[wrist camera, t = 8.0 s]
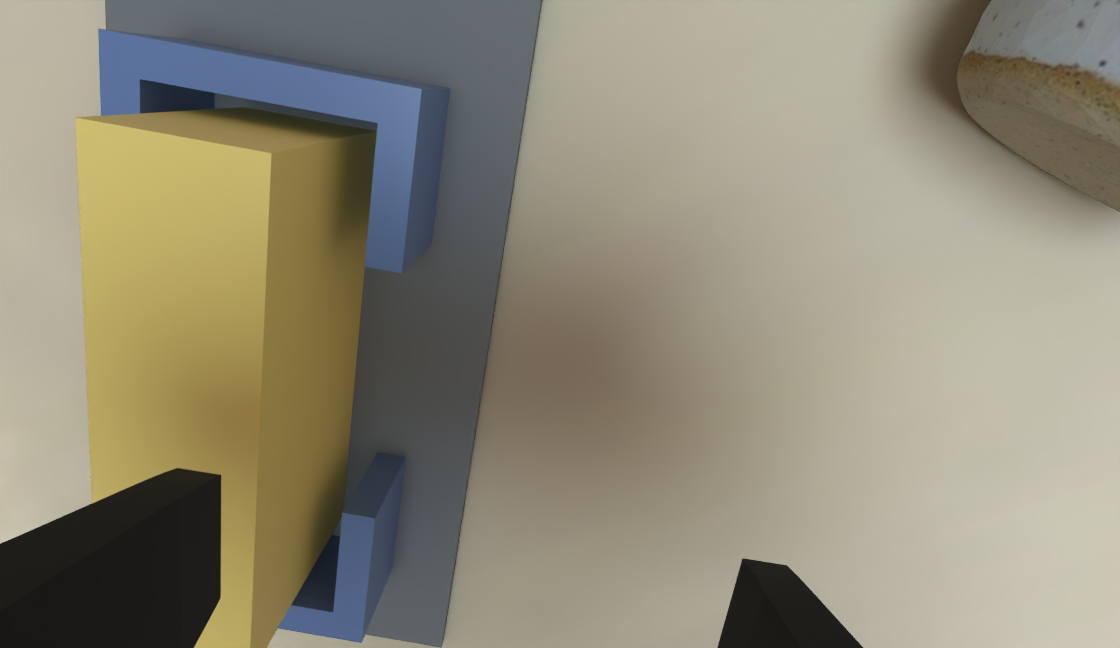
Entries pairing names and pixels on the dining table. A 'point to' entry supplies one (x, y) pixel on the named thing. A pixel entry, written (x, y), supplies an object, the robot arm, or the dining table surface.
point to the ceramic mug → (1050, 87)
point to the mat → (437, 274)
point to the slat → (227, 328)
